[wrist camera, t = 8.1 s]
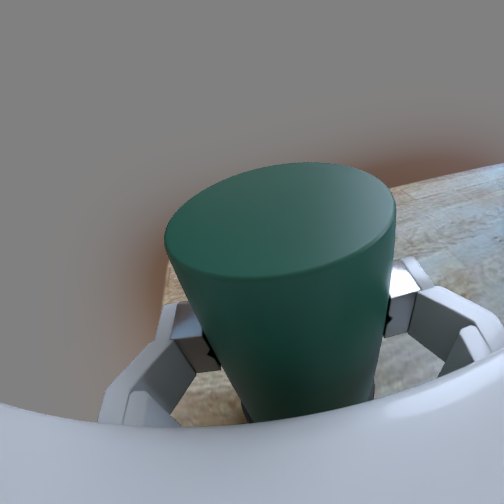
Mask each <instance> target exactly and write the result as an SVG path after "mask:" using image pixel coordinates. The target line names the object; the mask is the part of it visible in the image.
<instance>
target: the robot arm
mask: <svg viewBox="0 0 504 504" xmlns="http://www.w3.org/2000/svg"><path fill="white" fill-rule="evenodd" d="M406 332H408V334H409V335H410V336H412V337H413V338H414V339H416V340H417V341H418V342H419V343H421V344H422V345H423V346H425V347H426V348H427V349H429V350H430V351H431V352H433V353H434V354H435V355H436V356H438V357H439V358H440V359H442V360H443V361H444V362H445V364H444V366H443V368H442V370H441V372H440V374H439V376H438V378H436V379H434V380H431V381H429V382H426V383H423V384H421V385H418V386H415V387H412V388H409V389H406V390H403V391H400V392H397V393H394V394H391V395H388V396H385V397H381V398H378V399H374V400H371V401H367V402H363V403H360V404H356V405H352V406H348V407H344V408H339V409H335V410H331V411H326V412H321V413H316V414H311V415H306V416H300V417H294V418H288V419H281V420H274V421H267V422H258V423H249V424H239V425H226V426H209V427H182V426H181V425H180V424H179V423H178V422H177V421H176V420H175V419H174V418H173V417H172V416H170V414H171V413H172V411H173V410H174V408H175V407H176V405H177V404H178V402H179V401H180V399H181V398H182V396H183V395H184V393H185V392H186V390H187V388H188V387H189V385H190V384H191V382H192V381H193V379H194V378H195V376H196V373H203V372H211V371H218V370H221V364H220V362H219V360H218V358H217V356H216V354H215V352H214V351H213V349H212V347H211V345H210V343H209V341H208V339H207V337H206V335H205V333H204V331H203V329H202V327H201V325H200V323H199V321H198V319H197V317H196V315H195V313H194V311H193V309H192V307H191V305H190V303H189V301H183V302H179V303H170V304H165V305H164V306H163V308H162V312H161V316H160V320H159V323H158V327H157V332H156V336H155V340H154V342H150V343H149V344H148V345H147V346H146V347H145V348H144V349H143V350H142V351H141V352H140V353H139V354H138V356H137V357H136V358H135V359H134V360H133V361H132V362H131V363H130V364H129V365H128V366H127V367H126V368H125V369H124V370H123V371H122V372H121V374H119V375H118V377H117V378H116V379H115V380H114V381H113V382H112V383H111V384H110V385H109V386H108V387H107V388H106V390H105V393H104V397H103V401H102V404H101V408H100V412H99V416H98V420H97V423H95V422H88V421H81V420H74V419H68V418H62V417H57V416H51V415H47V414H42V413H38V412H33V411H29V410H25V409H21V408H17V407H14V406H10V405H7V404H3V403H0V504H504V326H503V325H502V323H501V322H500V320H499V319H498V317H497V316H496V314H495V313H493V312H491V311H489V310H487V309H485V308H483V307H481V306H479V305H477V304H475V303H473V302H471V301H469V300H467V299H465V298H463V297H461V296H459V295H457V294H455V293H453V292H451V291H449V290H447V289H445V288H443V287H441V286H436V287H435V285H434V284H433V282H432V281H431V279H430V278H429V277H428V275H427V274H426V273H425V271H424V270H423V268H422V267H421V266H420V264H419V263H418V262H417V260H416V259H415V258H414V257H413V256H408V257H404V258H400V259H398V260H394V261H393V266H392V276H391V284H390V292H389V299H388V306H387V313H386V319H385V325H384V331H383V336H384V338H388V337H392V336H395V335H399V334H403V333H406Z"/></svg>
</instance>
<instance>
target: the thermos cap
mask: <svg viewBox="0 0 504 504" xmlns="http://www.w3.org/2000/svg"><path fill="white" fill-rule="evenodd" d="M395 228H396V203H395V200H394V198H393V195H392V193H391V191H390V190H389V189H388V187H387V186H386V185H385V184H384V183H383V182H382V181H380V180H379V179H377V178H376V177H374V176H372V175H370V174H369V173H367V172H364V171H361V170H359V169H355V168H352V167H348V166H343V165H338V164H330V163H317V162H313V163H311V162H310V163H309V162H303V163H289V164H281V165H274V166H268V167H263V168H259V169H255V170H251V171H248V172H244V173H241V174H238V175H235V176H232V177H230V178H227V179H225V180H222V181H221V182H218V183H216V184H214V185H212V186H210V187H208V188H207V189H205V190H203V191H201V192H200V193H198V194H197V195H195V196H194V197H192V198H191V199H190V200H188V201H187V202H186V203H185V204H184V205H183V206H181V208H180V209H178V211H177V212H176V213H175V214H174V215H173V217H172V218H171V220H170V221H169V223H168V225H167V228H166V231H165V235H164V245H165V249H166V252H167V255H168V257H169V259H170V262H171V264H172V266H173V268H174V271H175V273H176V275H177V277H178V279H179V282H180V284H181V286H182V288H183V290H184V292H185V294H186V297H187V299H188V301H189V303H190V305H191V307H192V309H193V311H194V313H195V315H196V317H197V319H198V321H199V323H200V325H201V327H202V329H203V331H204V333H205V335H206V337H207V339H208V341H209V343H210V345H211V347H212V349H213V351H214V352H215V354H216V356H217V358H218V360H219V362H220V364H221V366H222V367H223V369H224V371H225V373H226V375H227V377H228V378H229V380H230V382H231V384H232V386H233V387H234V389H235V391H236V393H237V394H238V396H239V398H240V400H241V405H242V410H243V413H244V415H245V417H246V419H247V421H248V423H258V422H267V421H274V420H281V419H288V418H294V417H300V416H306V415H311V414H316V413H321V412H326V411H331V410H335V409H339V408H344V407H348V406H352V405H356V404H360V403H363V402H367V401H371V400H373V398H374V389H375V384H374V375H375V370H376V366H377V361H378V357H379V352H380V347H381V342H382V336H383V331H384V325H385V319H386V313H387V306H388V299H389V292H390V284H391V276H392V266H393V256H394V243H395Z"/></svg>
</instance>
